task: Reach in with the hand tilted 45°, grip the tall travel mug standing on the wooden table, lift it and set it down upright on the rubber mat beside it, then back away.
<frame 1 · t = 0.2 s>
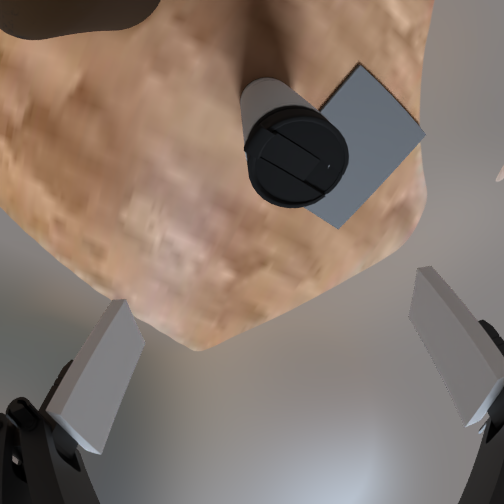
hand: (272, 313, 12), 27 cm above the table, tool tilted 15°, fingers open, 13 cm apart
rubber mat: (349, 153, 35), on the table
travel mug: (265, 100, 31), on the table
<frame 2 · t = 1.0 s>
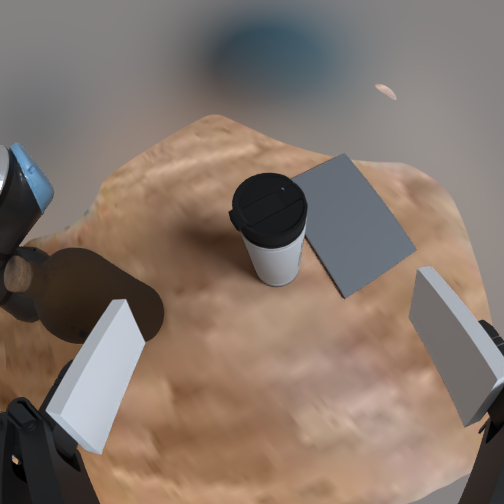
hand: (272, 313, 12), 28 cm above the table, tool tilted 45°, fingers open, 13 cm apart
rubber mat: (346, 219, 43), on the table
olive oil: (137, 313, 42), on the table
travel mug: (276, 266, 42), on the table
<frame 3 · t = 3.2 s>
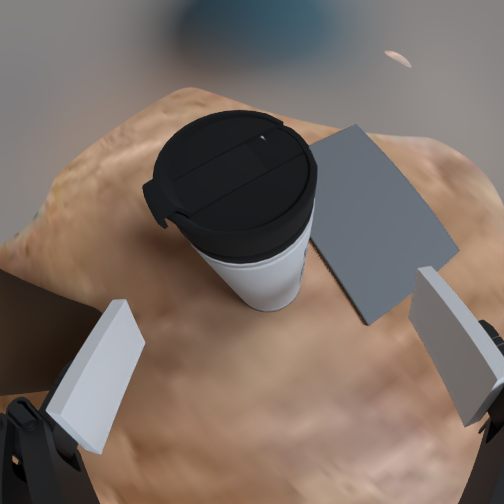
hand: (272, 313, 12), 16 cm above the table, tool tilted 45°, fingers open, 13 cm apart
rubber mat: (365, 210, 30), on the table
olive oil: (86, 344, 29), on the table
travel mug: (267, 282, 29), on the table
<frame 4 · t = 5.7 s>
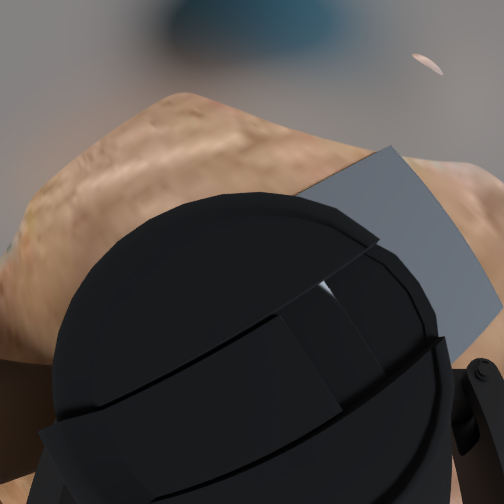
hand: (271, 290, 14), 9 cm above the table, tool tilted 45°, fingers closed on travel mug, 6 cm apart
rubber mat: (403, 262, 23), on the table
olive oil: (68, 408, 22), on the table
travel mug: (281, 357, 22), on the table, touching gripper
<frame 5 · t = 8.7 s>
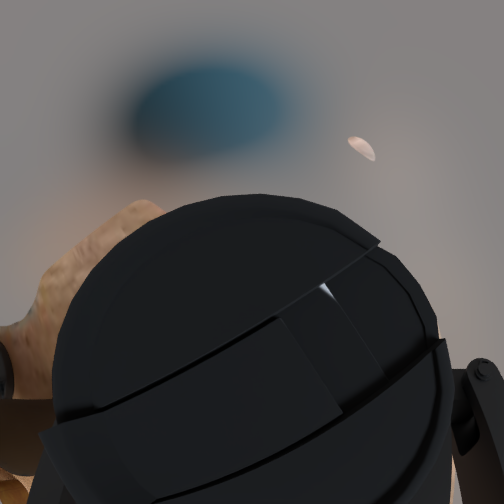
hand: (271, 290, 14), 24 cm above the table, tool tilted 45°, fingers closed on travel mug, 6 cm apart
disposable coffee cup: (22, 491, 29), on the table
olive oil: (82, 423, 35), on the table
travel mug: (281, 358, 22), point 15 cm above the table, touching gripper
when the fingers open (12 cm above the table, at t = 11.9 s): travel mug drops 1 cm, resting on rubber mat.
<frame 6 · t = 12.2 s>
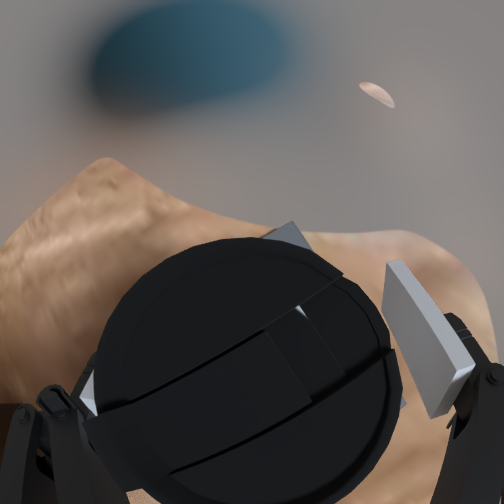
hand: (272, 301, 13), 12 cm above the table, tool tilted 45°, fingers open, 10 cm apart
rubber mat: (283, 356, 24), on the table
olive oil: (29, 435, 23), on the table
travel mug: (280, 358, 23), resting on rubber mat
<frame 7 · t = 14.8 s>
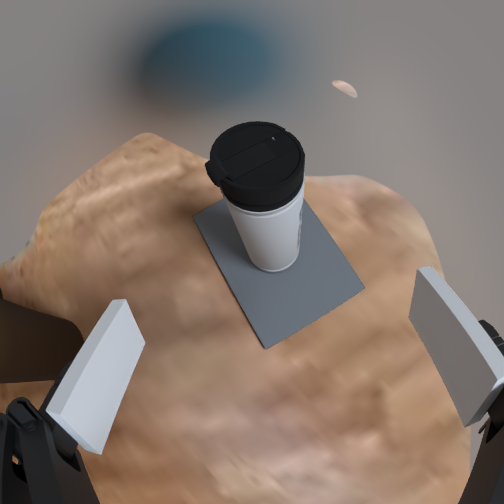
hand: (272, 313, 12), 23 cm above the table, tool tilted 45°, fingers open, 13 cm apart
rubber mat: (274, 251, 37), on the table
olive oil: (65, 348, 36), on the table
travel mug: (272, 251, 36), resting on rubber mat
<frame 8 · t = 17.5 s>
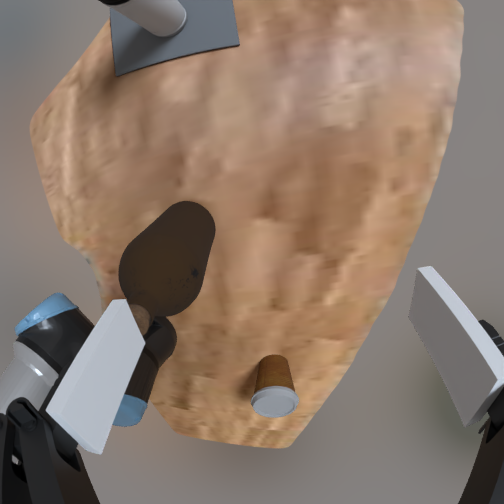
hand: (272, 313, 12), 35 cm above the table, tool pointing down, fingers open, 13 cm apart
disposable coffee cup: (273, 363, 62), on the table
rubber mat: (169, 21, 33), on the table
olive oil: (187, 227, 48), on the table
travel mug: (169, 22, 32), resting on rubber mat
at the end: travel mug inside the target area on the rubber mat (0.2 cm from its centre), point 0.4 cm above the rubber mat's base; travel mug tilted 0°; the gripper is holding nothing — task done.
